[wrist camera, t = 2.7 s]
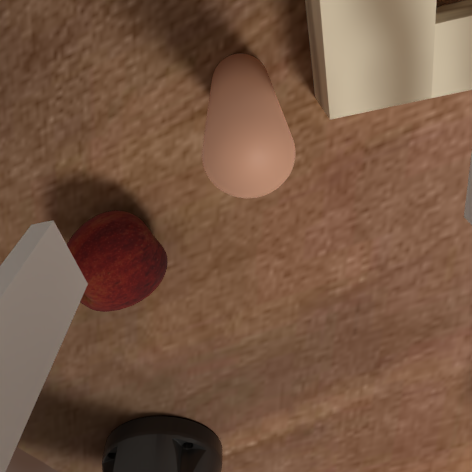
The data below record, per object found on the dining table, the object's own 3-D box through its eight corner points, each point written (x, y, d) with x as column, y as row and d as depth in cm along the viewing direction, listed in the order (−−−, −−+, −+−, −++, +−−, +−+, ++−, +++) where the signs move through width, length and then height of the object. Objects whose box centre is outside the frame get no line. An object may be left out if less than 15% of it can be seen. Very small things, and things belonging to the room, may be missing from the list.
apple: (79, 188, 32) (41, 245, 26) (176, 202, 33) (164, 261, 27) (81, 261, 36) (48, 327, 30) (168, 273, 37) (155, 339, 31)
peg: (219, 118, 30) (214, 205, 19) (205, 60, 27) (191, 121, 17) (273, 106, 29) (300, 188, 18) (263, 47, 27) (288, 100, 16)
